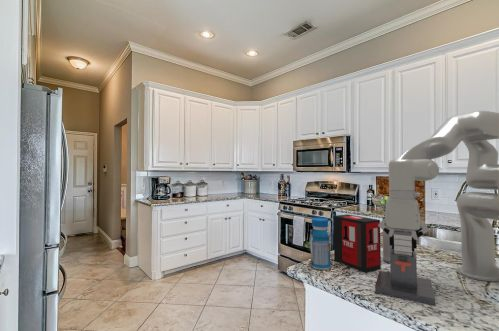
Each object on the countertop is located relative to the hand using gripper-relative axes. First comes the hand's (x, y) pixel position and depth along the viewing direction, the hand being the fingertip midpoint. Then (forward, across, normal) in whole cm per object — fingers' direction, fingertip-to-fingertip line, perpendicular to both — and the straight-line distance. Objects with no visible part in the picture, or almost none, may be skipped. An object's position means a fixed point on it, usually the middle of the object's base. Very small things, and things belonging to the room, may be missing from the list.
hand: (403, 248), depth 87 cm
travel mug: (+14, +5, -28) cm, 32 cm away
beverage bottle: (+14, +30, -6) cm, 33 cm away
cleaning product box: (+14, +18, -16) cm, 28 cm away
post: (+11, 0, 0) cm, 11 cm away
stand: (+13, 0, 0) cm, 13 cm away
